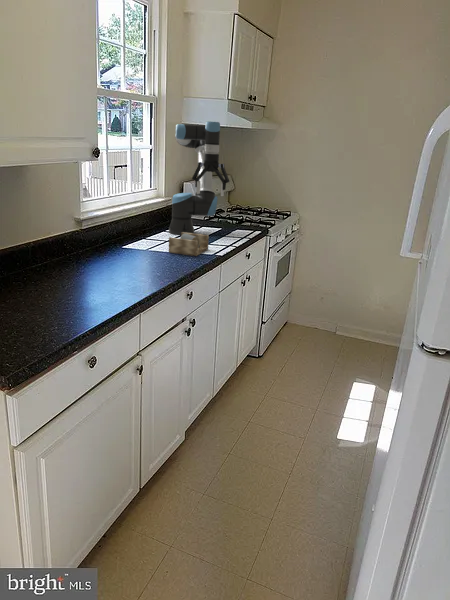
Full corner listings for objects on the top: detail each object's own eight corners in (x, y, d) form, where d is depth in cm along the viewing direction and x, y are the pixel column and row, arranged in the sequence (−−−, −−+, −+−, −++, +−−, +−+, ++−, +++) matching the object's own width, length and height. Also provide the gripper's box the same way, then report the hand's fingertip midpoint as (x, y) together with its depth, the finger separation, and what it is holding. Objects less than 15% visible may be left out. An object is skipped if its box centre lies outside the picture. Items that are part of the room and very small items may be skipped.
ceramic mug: (191, 251, 245) (192, 236, 243) (178, 249, 249) (179, 234, 246) (203, 248, 254) (204, 234, 251) (190, 246, 258) (191, 231, 255)
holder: (168, 252, 245) (168, 237, 242) (182, 245, 260) (182, 232, 257) (196, 256, 241) (196, 241, 238) (208, 249, 255) (208, 235, 253)
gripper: (186, 151, 251) (185, 193, 259) (232, 155, 244) (229, 197, 251) (192, 151, 258) (191, 192, 265) (236, 154, 251) (234, 196, 258)
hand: (210, 194), depth 258 cm, fingers open, 13 cm apart
